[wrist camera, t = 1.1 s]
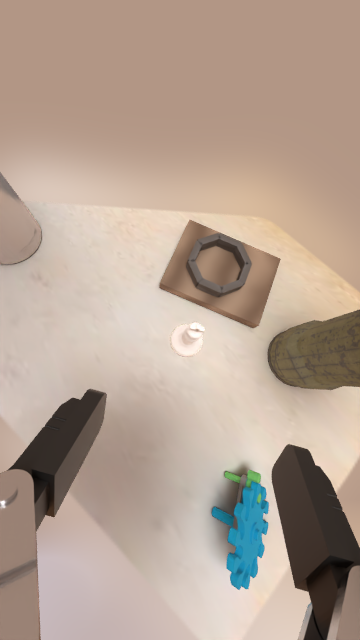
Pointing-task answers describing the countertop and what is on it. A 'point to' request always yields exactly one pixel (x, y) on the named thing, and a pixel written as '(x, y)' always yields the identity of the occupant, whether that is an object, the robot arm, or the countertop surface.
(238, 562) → the blue and green toy
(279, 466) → the robot arm
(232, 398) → the countertop surface
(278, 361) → the thermos
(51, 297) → the countertop surface
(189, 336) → the chess piece
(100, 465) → the countertop surface
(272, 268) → the socket board
